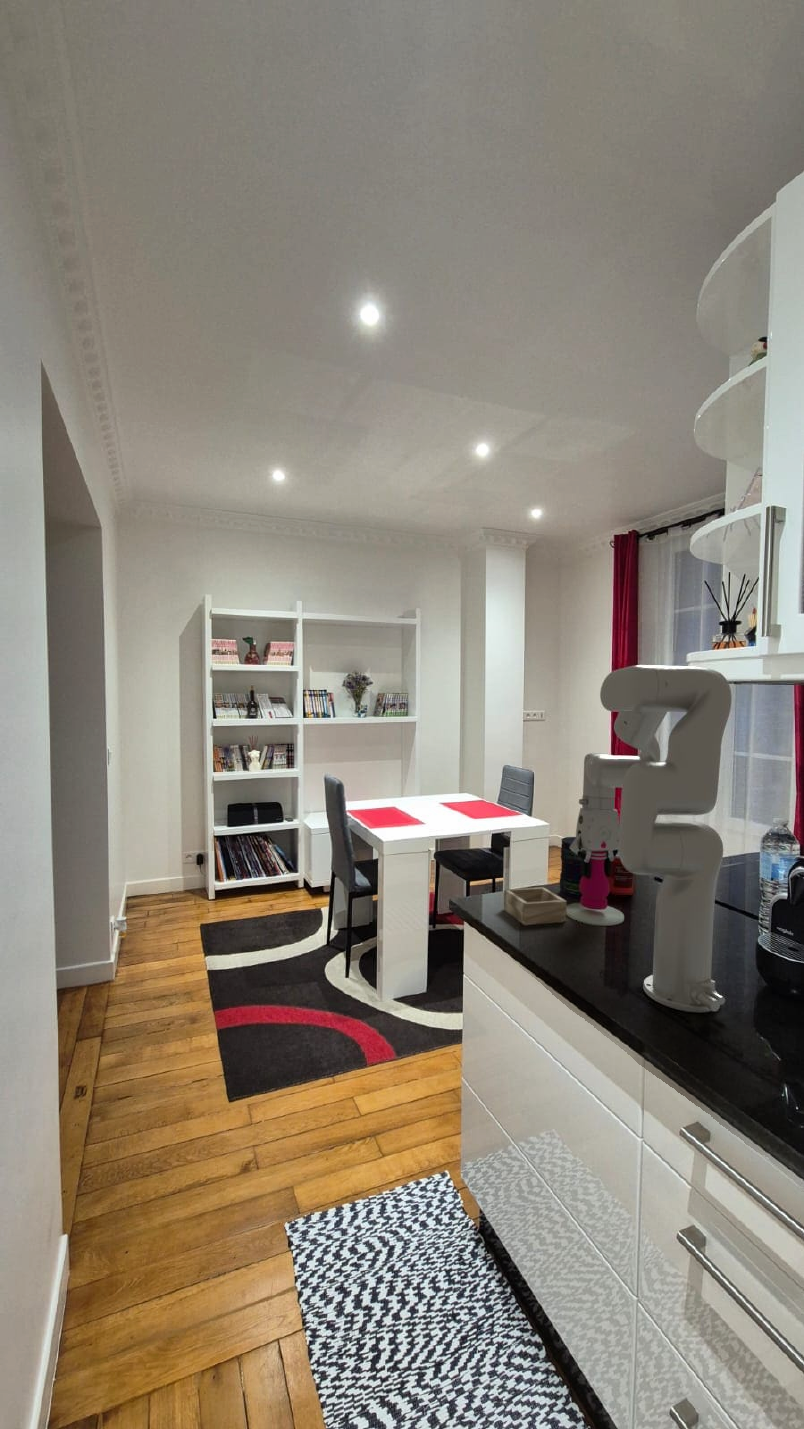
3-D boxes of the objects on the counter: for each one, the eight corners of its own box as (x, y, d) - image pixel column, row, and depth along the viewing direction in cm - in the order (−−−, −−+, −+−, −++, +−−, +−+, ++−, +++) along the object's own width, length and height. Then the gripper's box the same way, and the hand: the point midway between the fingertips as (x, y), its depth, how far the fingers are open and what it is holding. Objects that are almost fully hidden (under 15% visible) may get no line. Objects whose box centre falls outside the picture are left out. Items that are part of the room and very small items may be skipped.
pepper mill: (610, 912, 146) (614, 829, 146) (579, 908, 148) (583, 827, 147) (606, 902, 153) (610, 824, 153) (577, 899, 155) (580, 821, 154)
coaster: (636, 923, 146) (636, 919, 146) (585, 927, 142) (585, 924, 142) (601, 903, 159) (601, 900, 159) (554, 907, 155) (554, 904, 155)
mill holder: (565, 921, 145) (566, 901, 145) (524, 925, 142) (525, 904, 142) (542, 906, 156) (543, 887, 156) (503, 909, 153) (504, 889, 153)
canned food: (612, 886, 176) (614, 848, 175) (638, 893, 169) (640, 854, 169) (597, 890, 171) (599, 852, 170) (623, 898, 165) (625, 858, 164)
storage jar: (599, 902, 161) (601, 846, 160) (561, 899, 162) (563, 843, 162) (593, 890, 171) (595, 838, 170) (557, 888, 172) (559, 835, 172)
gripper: (576, 806, 144) (573, 882, 144) (637, 805, 149) (634, 878, 149) (559, 801, 151) (557, 873, 151) (618, 800, 156) (615, 870, 156)
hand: (595, 875), depth 150 cm, fingers closed on pepper mill, 5 cm apart
